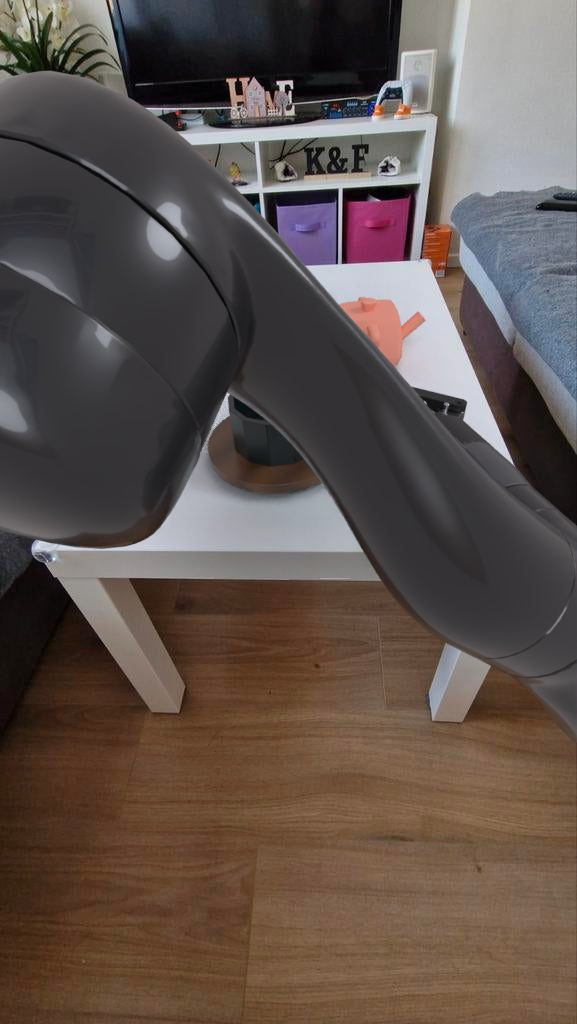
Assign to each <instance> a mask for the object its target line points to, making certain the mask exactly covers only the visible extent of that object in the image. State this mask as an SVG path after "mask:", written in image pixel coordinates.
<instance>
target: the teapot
mask: <svg viewBox="0 0 577 1024" xmlns="http://www.w3.org/2000/svg"><path fill="white" fill-rule="evenodd" d="M339 305H340V307H341V308H342V309H343V310H344V311H345V312H346V313H347V314H348V315H349V317H350V318H351V319H352V320H353V321H354V322H355V323H356V324H357V325H358V326H359V328H360V329H361V330H362V331H363V332H364V333H365V334H366V335H367V336H368V337H369V339H370V340H371V341H372V342H373V343H374V344H375V345H376V347H377V348H378V349H379V350H380V351H381V352H382V353H383V355H384V356H385V357H386V358H387V359H388V360H389V361H390V363H391V364H392V365H393V366H394V367H395V366H397V365H399V363H400V360H401V359H402V356H403V341H404V340H406V338H408V337H409V336H410V335H411V334H412V333H413V332H414V331H416V330H417V329H418V328H419V327H420V326H422V325H423V324H424V323H425V322H426V319H425V317H424V315H423V314H422V313H421V312H420V311H417V312H416V313H414V314H413V315H412V316H411V317H410V318H409V319H408V320H406V321H405V322H404V323H403V324H402V323H401V318H400V317H401V316H400V313H399V311H398V309H397V307H396V304H395V303H394V301H392V300H391V299H375V298H374V297H366V296H359V297H358V299H357V300H353V301H345V302H341V303H339Z"/></svg>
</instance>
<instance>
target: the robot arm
mask: <svg viewBox="0 0 577 1024" xmlns="http://www.w3.org/2000/svg"><path fill="white" fill-rule="evenodd" d="M227 394H229V395H232V396H233V397H235V398H236V399H238V400H240V401H241V402H243V403H244V404H246V405H247V406H248V407H250V408H251V409H252V410H254V411H255V412H257V413H258V414H259V415H260V416H261V417H263V418H264V419H265V420H266V421H267V422H269V423H270V424H271V425H272V426H273V427H274V428H275V429H276V430H277V431H278V432H279V433H280V434H282V435H283V436H284V437H285V438H286V439H287V440H288V441H289V443H290V444H291V445H292V446H293V447H294V448H295V449H296V450H297V451H298V453H299V454H300V455H301V456H302V457H303V459H304V460H305V461H306V463H307V464H308V465H309V467H310V468H311V469H312V471H313V472H314V473H315V475H316V476H317V477H318V478H319V480H320V481H321V482H320V483H321V484H322V486H323V487H324V488H325V490H326V492H327V493H328V495H329V496H330V498H331V499H332V501H333V503H334V505H335V506H336V508H337V509H338V511H339V512H340V514H341V516H342V517H343V519H344V521H345V523H346V524H347V526H348V528H349V530H350V532H351V533H352V535H353V536H354V538H355V540H356V542H357V543H358V545H359V548H360V549H361V551H362V552H363V554H364V555H365V558H366V559H367V560H368V562H369V564H370V565H371V567H372V569H373V570H374V572H375V574H376V575H377V576H378V578H379V580H380V581H381V583H383V585H384V587H385V588H386V590H387V591H388V592H389V594H390V595H391V596H392V598H393V599H394V600H395V601H396V603H397V604H398V605H399V606H400V608H402V609H403V610H404V612H405V613H407V615H408V616H409V617H410V618H412V619H413V620H414V621H415V622H416V623H417V624H418V625H419V626H420V627H422V628H423V629H424V630H425V631H427V632H428V633H429V634H431V635H432V636H433V637H436V638H437V639H438V640H440V641H442V642H443V643H445V644H447V645H449V646H451V647H453V648H455V649H456V650H459V651H460V652H462V653H465V654H466V655H468V656H470V657H472V658H475V659H476V660H477V661H481V662H482V663H485V664H486V665H488V666H491V667H492V668H494V669H496V670H499V671H500V672H502V673H504V674H507V675H509V676H510V677H511V678H512V679H514V680H515V681H516V682H518V683H519V684H520V685H521V686H522V687H523V688H525V690H527V691H528V692H529V693H530V694H531V695H532V696H533V697H534V698H535V699H536V700H537V702H539V704H540V705H541V707H542V708H543V709H544V711H545V712H546V713H547V715H548V716H549V717H550V719H551V720H552V721H553V723H554V724H556V726H557V727H558V728H559V730H561V731H562V732H563V733H564V734H565V735H566V737H568V738H569V739H570V740H571V741H573V742H574V743H575V744H577V525H576V524H575V523H574V522H573V521H572V520H571V519H569V518H568V517H567V516H566V515H565V514H563V512H561V511H560V510H559V509H558V508H557V507H556V506H555V505H553V503H551V502H550V501H549V500H548V499H547V498H546V497H545V496H544V495H543V494H541V493H540V492H539V491H538V490H537V489H535V488H534V487H533V486H532V485H531V483H530V482H529V481H528V480H527V479H526V478H525V476H524V475H523V474H522V472H521V471H520V470H519V469H518V468H517V467H516V466H515V465H514V464H513V463H512V462H511V461H510V460H509V459H508V458H506V457H505V456H504V455H503V454H502V453H500V451H499V450H497V448H495V447H494V446H493V445H492V444H491V443H489V442H488V441H487V440H486V439H485V438H484V437H483V436H481V435H480V434H479V433H478V432H477V431H476V430H474V428H472V426H471V425H469V424H468V423H467V422H466V421H464V419H465V416H466V415H465V414H466V410H467V405H468V401H467V400H466V399H464V398H460V397H456V396H452V395H449V394H443V393H440V392H436V391H431V390H427V389H424V388H419V387H415V386H411V384H410V383H409V382H408V381H407V380H406V379H405V378H404V376H403V375H402V374H401V373H400V372H399V371H398V369H397V368H396V367H395V365H394V366H393V365H392V364H391V363H390V361H389V360H388V359H387V358H386V357H385V356H384V355H383V353H382V352H381V351H380V350H379V349H378V348H377V347H376V345H375V344H374V343H373V342H372V341H371V340H370V339H369V337H368V336H367V335H366V334H365V333H364V332H363V331H362V330H361V329H360V328H359V326H358V325H357V324H356V323H355V322H354V321H353V320H352V319H351V318H350V317H349V315H348V314H347V313H346V312H345V311H344V310H343V309H342V308H341V307H340V303H338V302H337V301H336V300H335V298H334V297H333V296H332V295H331V293H330V292H329V291H328V290H327V289H326V287H324V285H323V284H322V283H321V282H320V281H319V280H318V279H317V278H316V276H315V275H314V274H313V273H312V271H311V270H310V269H309V268H308V267H307V266H306V264H305V263H304V262H303V261H302V260H301V258H299V256H298V255H297V254H296V253H295V252H294V250H292V248H291V247H290V246H289V244H288V243H286V241H285V240H284V239H283V238H282V237H281V236H280V234H279V233H278V232H277V231H276V230H275V228H274V227H273V226H272V225H271V224H270V223H269V222H268V221H267V220H266V219H265V217H264V216H263V215H262V214H261V213H260V212H259V211H258V210H257V209H256V208H255V206H254V205H253V204H252V203H251V202H250V201H249V200H248V199H247V198H246V197H245V196H244V194H242V193H241V191H240V190H239V189H237V188H236V187H235V185H234V184H233V183H232V182H231V181H230V180H229V179H228V178H227V177H226V176H225V175H224V174H223V173H222V172H221V171H220V170H219V169H218V168H217V167H216V166H215V165H214V164H212V162H211V161H210V160H208V158H206V157H205V156H204V154H203V153H201V152H200V151H199V150H198V149H197V148H196V147H195V146H194V144H193V145H192V144H191V143H190V142H189V141H188V140H187V139H186V138H185V137H183V136H182V135H181V134H180V133H179V132H178V131H177V130H176V129H175V128H173V127H172V126H171V125H169V124H168V123H167V122H165V121H164V120H163V119H161V118H160V117H159V116H157V115H156V114H154V113H153V112H152V111H150V110H149V109H148V108H146V107H145V106H143V105H142V104H140V103H139V102H137V101H135V100H134V99H132V98H130V97H128V96H126V95H124V94H122V93H120V92H118V91H116V90H114V89H112V88H110V87H108V86H106V85H105V84H101V83H100V82H98V81H96V80H94V79H91V78H87V77H84V76H79V75H75V74H69V73H64V72H59V71H54V70H41V71H34V72H27V73H22V74H15V75H13V76H11V77H8V78H6V79H5V80H3V81H1V82H0V531H1V532H5V533H8V534H12V535H15V536H19V537H24V538H27V539H31V540H36V541H40V542H44V543H48V544H53V545H59V546H64V547H71V548H79V549H80V548H81V549H95V550H104V549H116V548H124V547H129V546H133V545H136V544H138V543H141V542H143V541H145V540H147V539H148V538H150V537H151V536H153V535H154V534H155V533H156V532H157V531H158V530H160V529H161V527H162V526H163V524H164V523H165V522H166V520H167V519H168V517H169V516H170V515H171V514H172V512H173V510H174V508H175V507H176V505H177V503H179V500H180V498H181V497H182V494H183V492H184V490H185V488H186V486H187V484H188V483H189V480H190V478H191V476H192V474H193V472H194V470H195V468H196V467H197V464H198V462H199V460H200V457H201V453H202V451H203V449H204V447H205V444H206V442H207V440H208V438H209V434H210V432H211V430H212V427H213V426H214V423H215V421H216V419H217V416H218V414H219V412H220V410H221V407H222V405H223V403H224V400H225V399H226V396H227Z"/></svg>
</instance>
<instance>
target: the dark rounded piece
mask: <svg viewBox="0 0 577 1024" xmlns="http://www.w3.org/2000/svg"><path fill="white" fill-rule="evenodd" d="M227 404H228V416H226V418H224V419H223V420H222V421H220V422H219V423H218V424H217V426H216V427H214V429H213V430H212V432H211V434H210V436H209V437H208V441H207V453H208V458H209V459H208V460H209V462H210V465H211V467H212V469H213V471H214V472H215V473H216V474H217V476H219V478H221V479H222V480H223V481H224V482H226V483H228V484H230V485H231V486H233V487H236V488H238V489H241V490H243V491H248V492H253V493H258V494H288V493H292V492H299V491H301V490H305V489H309V488H311V487H314V486H316V485H318V484H320V483H322V482H321V481H320V480H319V478H318V477H317V476H316V475H315V473H314V472H313V471H312V469H311V468H310V467H309V465H308V464H307V463H306V461H305V460H304V459H303V457H302V456H301V455H300V454H299V453H298V451H297V450H296V449H295V448H294V447H293V446H292V445H291V444H290V443H289V441H288V440H287V439H286V438H285V437H284V436H283V435H282V434H280V433H279V432H278V431H277V430H276V429H275V428H274V427H273V426H272V425H271V424H270V423H269V422H267V421H266V420H265V419H264V418H263V417H261V416H260V415H259V414H258V413H257V412H255V411H254V410H252V409H251V408H250V407H248V406H247V405H246V404H244V403H243V402H241V401H240V400H238V399H236V398H235V397H233V396H232V395H230V394H229V395H228V396H227Z"/></svg>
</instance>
